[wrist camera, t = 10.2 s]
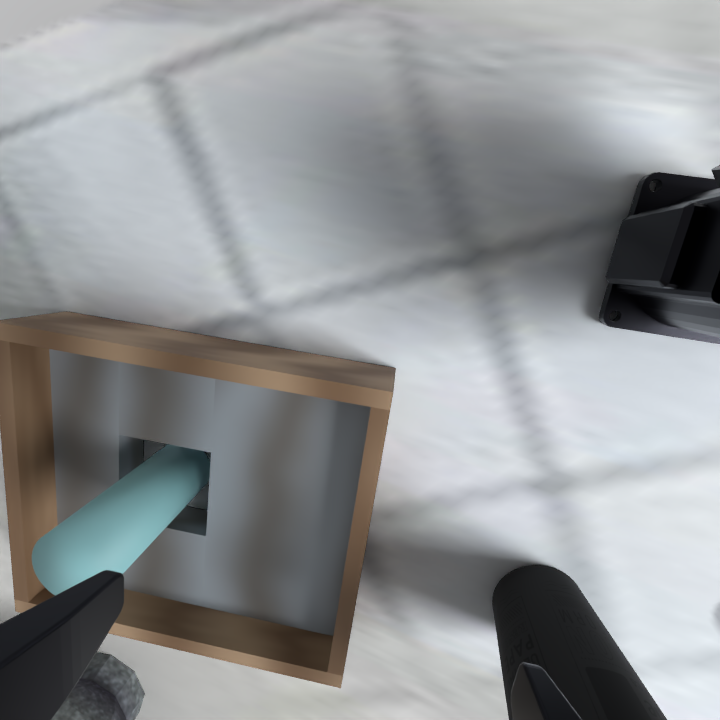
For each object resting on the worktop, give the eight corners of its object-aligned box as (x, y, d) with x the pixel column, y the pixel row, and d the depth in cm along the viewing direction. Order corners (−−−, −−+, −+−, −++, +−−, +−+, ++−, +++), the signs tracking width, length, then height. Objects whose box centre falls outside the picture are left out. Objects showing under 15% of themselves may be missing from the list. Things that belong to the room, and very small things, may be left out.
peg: (212, 446, 22) (109, 541, 14) (209, 496, 23) (109, 611, 15) (159, 436, 22) (29, 524, 15) (158, 485, 23) (34, 593, 16)
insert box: (395, 368, 20) (393, 392, 16) (351, 619, 24) (340, 688, 20) (66, 311, 21) (-9, 321, 17) (75, 558, 25) (15, 611, 21)
